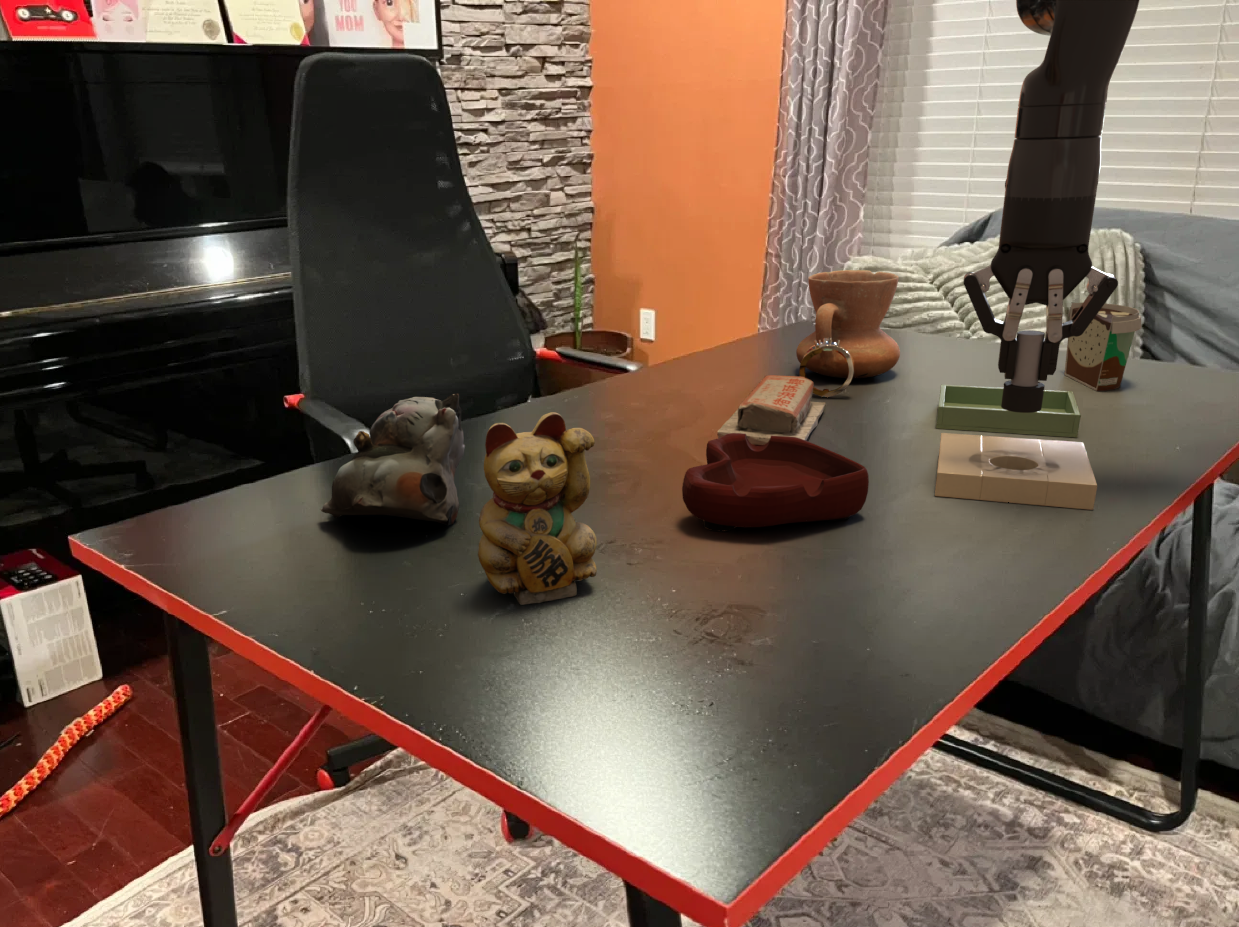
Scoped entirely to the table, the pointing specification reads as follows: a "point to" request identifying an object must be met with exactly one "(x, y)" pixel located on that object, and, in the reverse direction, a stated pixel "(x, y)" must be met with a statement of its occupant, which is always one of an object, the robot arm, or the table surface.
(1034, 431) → the tray
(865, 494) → the ashtray
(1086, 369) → the food container
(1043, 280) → the robot arm
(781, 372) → the table surface
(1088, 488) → the sink deck
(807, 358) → the ring
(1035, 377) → the plug
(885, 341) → the ceramic jug
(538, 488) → the decorative figurine
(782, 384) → the packaged product
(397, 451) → the lucky cat figurine
